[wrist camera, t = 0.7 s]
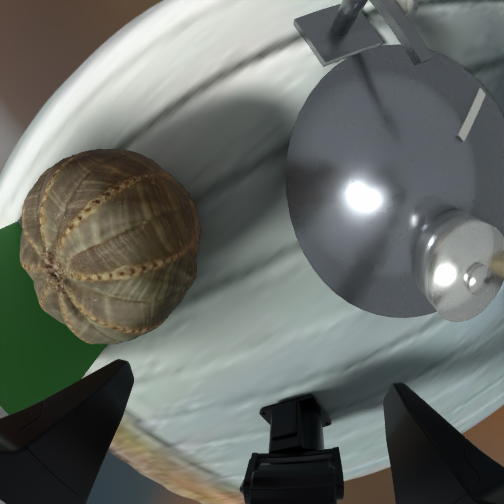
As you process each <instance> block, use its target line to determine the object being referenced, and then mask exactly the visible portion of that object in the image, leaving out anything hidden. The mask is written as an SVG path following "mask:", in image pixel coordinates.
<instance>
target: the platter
mask: <svg viewBox="0 0 504 504" xmlns="http://www.w3.org/2000/svg"><path fill="white" fill-rule="evenodd" d="M429 52H430V54H431V55H432V57H433V59H431V60H429V61H427V62H425V63H422V64H419V65H415V66H414V64H413V63H412V61H411V59H410V58H409V56H408V54H407V53H406V51H405V49H404V48H403V46H402V45H385V46H379V47H375V48H370V49H366V50H364V51H362V52H359V53H357V54H355V55H352V56H350V57H349V58H347V59H345V60H344V61H342V62H341V63H339V64H338V65H336V66H335V67H334V68H333V69H332V70H331V71H330V72H328V73H327V74H326V75H325V76H324V77H323V78H322V79H321V80H320V82H319V83H318V84H317V86H316V87H315V88H314V89H313V91H312V92H311V93H310V95H309V96H308V98H307V100H306V102H305V104H304V106H303V107H302V109H301V111H300V113H299V115H298V118H297V120H296V123H295V126H294V128H293V131H292V134H291V138H290V143H289V147H288V152H287V162H286V193H287V200H288V206H289V212H290V217H291V220H292V224H293V227H294V231H295V234H296V237H297V239H298V241H299V243H300V246H301V248H302V250H303V253H304V254H305V256H306V258H307V259H308V261H309V263H310V264H311V266H312V268H313V269H314V270H315V272H316V273H317V274H318V275H319V277H320V278H321V279H322V280H323V282H324V283H325V284H326V285H327V286H329V287H330V288H331V289H332V290H333V291H334V292H335V293H336V294H337V295H339V296H340V297H342V298H343V299H344V300H346V301H347V302H349V303H350V304H352V305H354V306H356V307H358V308H360V309H362V310H365V311H368V312H371V313H374V314H377V315H382V316H387V317H398V318H408V317H417V316H422V315H427V314H431V313H434V312H437V310H436V309H435V308H434V307H433V305H432V304H431V303H430V302H429V300H428V299H427V298H426V297H425V295H424V294H423V293H422V292H421V290H420V289H419V288H418V287H417V285H416V283H415V280H414V277H413V272H412V259H413V253H414V250H415V246H416V244H417V241H418V239H419V237H420V235H421V234H422V232H423V230H424V229H425V228H426V227H427V225H428V224H429V223H430V222H431V221H432V220H433V219H435V218H436V217H437V216H439V215H440V214H443V213H445V212H448V211H453V210H458V211H463V212H465V213H468V214H470V215H472V216H474V217H476V218H478V219H480V220H482V221H484V222H486V223H488V224H490V225H492V226H494V227H496V228H497V229H498V230H499V231H500V232H501V233H502V235H503V237H504V117H503V115H502V113H501V111H500V109H499V108H498V106H497V104H496V103H495V101H494V99H493V98H492V97H491V95H490V94H489V93H488V92H487V90H486V89H485V88H484V86H483V85H482V84H481V83H480V82H479V81H478V80H477V79H476V78H475V77H474V76H473V75H472V74H470V73H469V72H468V71H467V70H465V69H464V68H463V67H462V66H460V65H459V64H457V63H456V62H454V61H452V60H451V59H449V58H447V57H446V56H443V55H441V54H439V53H436V52H434V51H431V50H429Z"/></svg>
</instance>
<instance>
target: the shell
mask: <svg viewBox="0 0 504 504" xmlns="http://www.w3.org/2000/svg"><path fill="white" fill-rule="evenodd" d="M22 209H23V210H22V226H23V229H22V234H21V243H20V261H21V265H22V267H23V268H24V269H25V270H26V271H27V273H28V274H29V276H30V277H31V279H32V280H33V281H34V289H35V291H36V294H37V297H38V301H39V304H40V306H41V307H42V309H43V310H44V311H45V312H47V313H48V314H49V315H51V316H52V317H53V318H55V319H56V320H58V321H59V322H61V323H63V324H65V325H67V327H68V328H69V329H70V330H71V331H72V332H73V333H74V334H75V335H76V336H77V337H78V338H80V339H81V340H83V341H85V342H86V343H90V344H117V343H121V342H123V341H130V340H132V339H135V338H137V337H138V336H140V335H143V334H145V333H147V332H149V331H151V330H153V329H156V328H157V327H158V326H159V325H161V324H162V323H163V322H164V321H165V320H166V319H167V318H168V316H169V315H170V313H171V312H172V311H173V310H174V309H175V307H176V306H177V305H178V304H179V303H180V302H181V301H182V299H183V298H184V296H185V294H186V292H187V290H188V289H189V288H190V286H191V285H192V283H193V282H194V280H195V277H196V272H197V268H196V257H197V254H198V244H199V239H200V238H199V234H200V233H201V229H200V224H199V220H198V215H197V210H196V207H195V204H194V202H193V201H192V198H191V197H190V195H189V193H188V192H187V191H186V190H185V188H184V187H183V186H182V185H181V184H180V183H179V182H177V181H176V180H175V179H174V178H173V177H172V175H171V174H169V173H168V172H166V171H165V170H164V169H162V168H161V167H160V166H159V165H158V164H156V163H155V162H154V161H153V160H151V159H149V158H147V157H145V156H143V155H141V154H139V153H135V152H132V151H127V150H119V149H106V150H105V149H97V150H90V151H85V152H81V153H79V154H77V155H72V156H71V157H68V158H65V159H62V160H61V161H59V162H58V163H56V164H55V165H54V166H53V167H51V168H49V169H47V170H46V171H45V172H44V173H43V174H42V175H41V176H40V178H39V179H38V181H37V182H36V184H35V185H34V186H33V188H32V189H31V190H30V192H29V193H28V195H27V197H26V199H25V201H24V205H23V208H22Z"/></svg>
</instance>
